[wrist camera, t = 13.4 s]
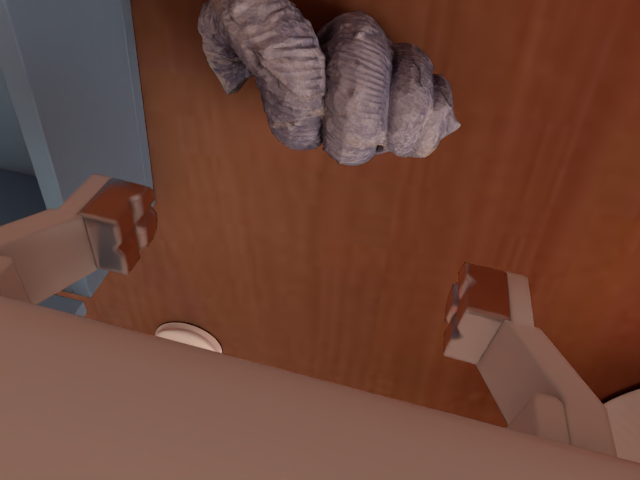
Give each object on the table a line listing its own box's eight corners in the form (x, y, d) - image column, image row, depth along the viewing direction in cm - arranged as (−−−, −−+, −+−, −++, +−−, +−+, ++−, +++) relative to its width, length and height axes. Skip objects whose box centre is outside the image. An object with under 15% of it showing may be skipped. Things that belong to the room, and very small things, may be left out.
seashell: (224, 17, 21) (453, 86, 21) (185, 137, 20) (424, 205, 20) (206, -82, 15) (512, 12, 16) (151, 75, 14) (476, 170, 15)
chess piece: (155, 314, 34) (76, 459, 26) (225, 334, 34) (166, 484, 26) (155, 352, 37) (85, 491, 30) (219, 371, 37) (164, 513, 30)
